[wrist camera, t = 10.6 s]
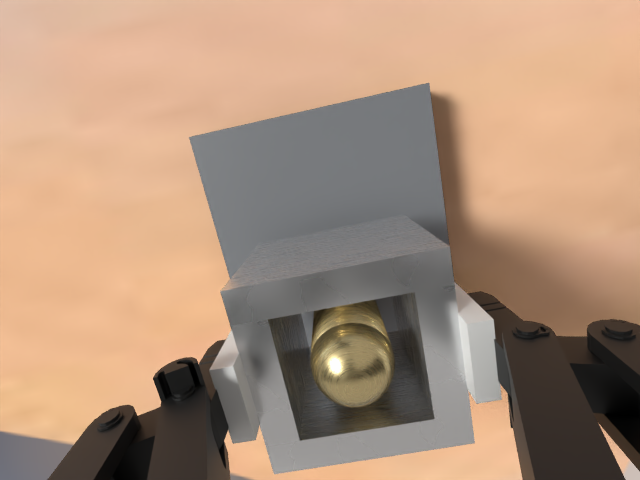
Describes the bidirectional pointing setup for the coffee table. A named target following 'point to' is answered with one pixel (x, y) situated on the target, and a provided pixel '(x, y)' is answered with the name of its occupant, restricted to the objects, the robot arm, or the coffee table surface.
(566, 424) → the robot arm
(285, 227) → the keeper plate
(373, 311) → the pin
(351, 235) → the steel collar
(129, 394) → the coffee table surface
